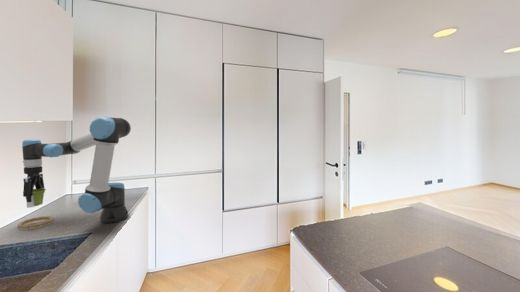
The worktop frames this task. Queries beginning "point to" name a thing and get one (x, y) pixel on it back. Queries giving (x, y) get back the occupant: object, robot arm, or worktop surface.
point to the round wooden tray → (35, 223)
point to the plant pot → (38, 196)
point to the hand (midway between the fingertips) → (35, 204)
